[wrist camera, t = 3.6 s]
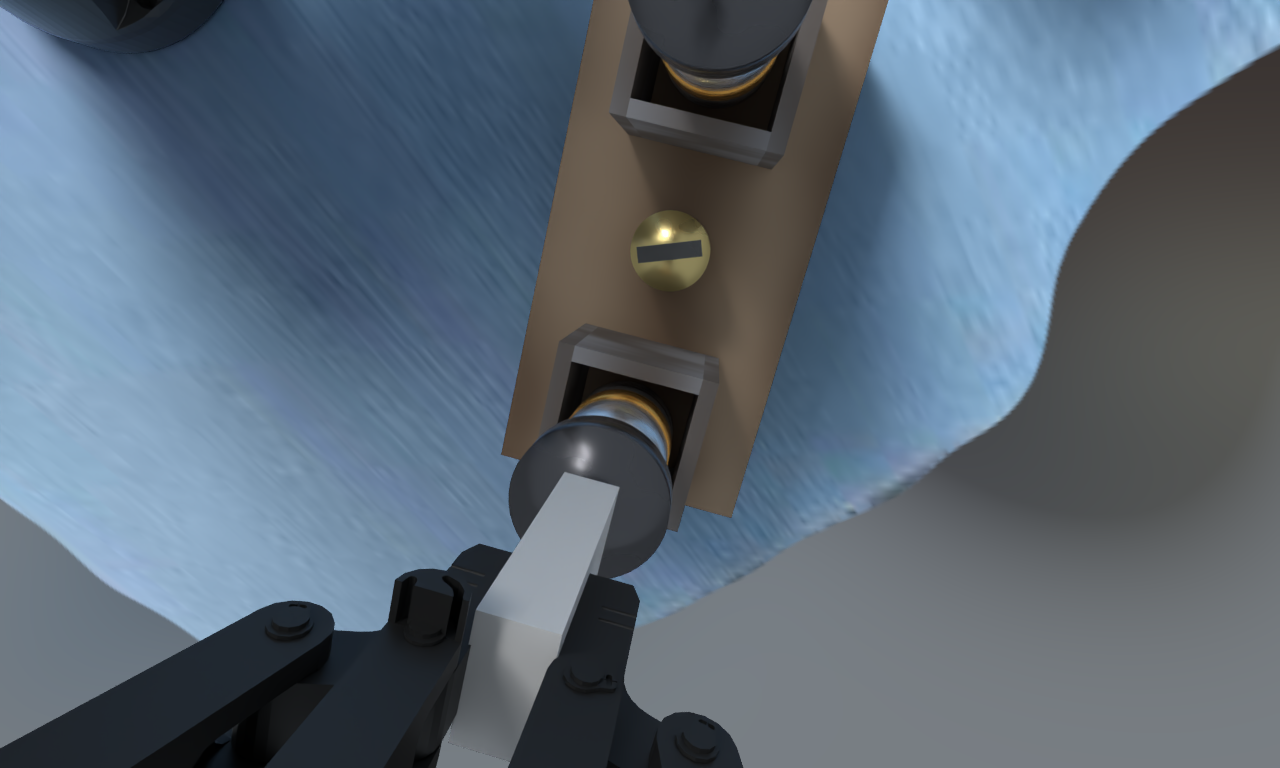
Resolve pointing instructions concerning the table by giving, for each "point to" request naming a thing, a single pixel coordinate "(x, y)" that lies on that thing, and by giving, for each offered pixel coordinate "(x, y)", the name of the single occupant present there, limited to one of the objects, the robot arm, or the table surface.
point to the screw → (670, 250)
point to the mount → (724, 205)
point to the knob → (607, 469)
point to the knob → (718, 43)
